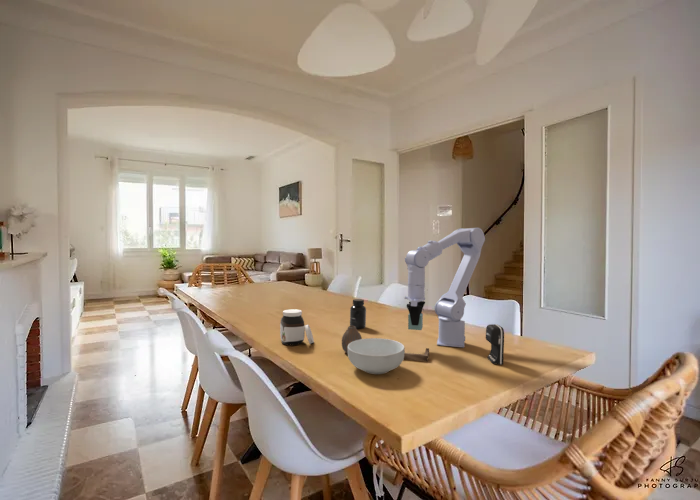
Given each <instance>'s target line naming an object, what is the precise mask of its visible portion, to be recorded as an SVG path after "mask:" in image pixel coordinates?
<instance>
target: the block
mask: <svg viewBox="0 0 700 500" xmlns="http://www.w3.org/2000/svg"><path fill="white" fill-rule="evenodd" d="M423 315H424V314H423V313H421V314H420V319H419V324H418V325H412V323H411V318H410V313H409V312H408V314H407V317H408V318H407V320H408V321H407V325H408V326H407V327H408V328H407V329H408V330H410V331H422V330H423V327H424V326H423V321H424V320H423V319H424V317H423Z"/></svg>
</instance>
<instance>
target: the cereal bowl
mask: <svg viewBox="0 0 700 500" xmlns="http://www.w3.org/2000/svg"><path fill="white" fill-rule="evenodd" d="M347 348H348V350H347V351H348V354H347V356H348V360H349V362H350V363H351V364H352V365H353V366H354V367H356V368H357V369H359V370H361V371H363V372H365V373H367V374H371V375H383V374H387V373H389V371H392V370H395V369H396V368H398V367H400V365H401V364H402V363H403V361H404V360H405V359H404V353H406V350H405V345H404V344H403V343H402V342H399V341H397V340H394V339H389V338H381V337H378V338H377V337H374V338H373V337H371V338H362V339H360V340H356V341H353V342H351V343H349V344H348V347H347Z"/></svg>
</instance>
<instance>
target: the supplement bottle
mask: <svg viewBox="0 0 700 500" xmlns="http://www.w3.org/2000/svg"><path fill="white" fill-rule="evenodd" d="M364 305H365V300H364V299H359V298H356V299H355V298H354V299H352V306H350V308H349V309H350V310H349V326H355V327H356V329H357V330H364V329H365V328H366V326H367V324H366V323H367V322H366V321H367V318H366V317H367V308H366V306H364Z"/></svg>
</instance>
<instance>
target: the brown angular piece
mask: <svg viewBox="0 0 700 500" xmlns="http://www.w3.org/2000/svg"><path fill="white" fill-rule="evenodd" d="M429 355H430V348H427V347H425V351H424V353H420V354H419V353H414V352H413V353H412V352H405V353H404V359H403V360H408V361H418V362H419V361H420V362H428V361H429V357H430V356H429Z"/></svg>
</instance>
